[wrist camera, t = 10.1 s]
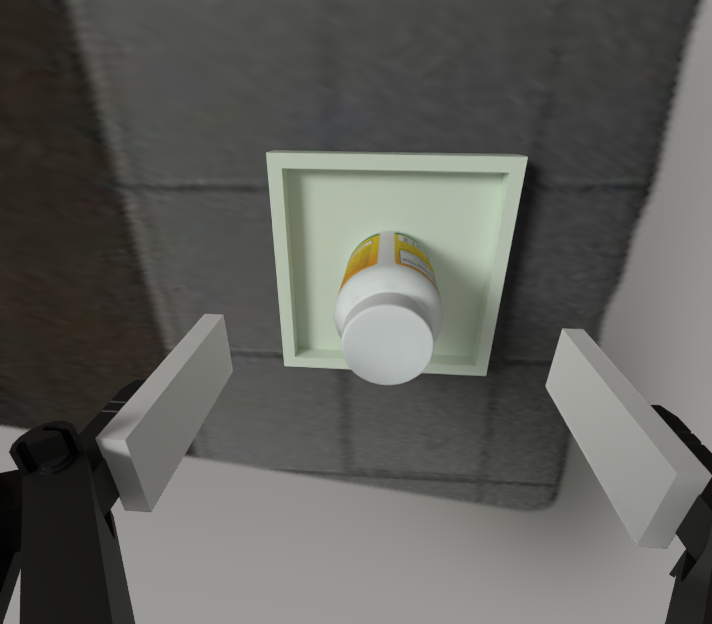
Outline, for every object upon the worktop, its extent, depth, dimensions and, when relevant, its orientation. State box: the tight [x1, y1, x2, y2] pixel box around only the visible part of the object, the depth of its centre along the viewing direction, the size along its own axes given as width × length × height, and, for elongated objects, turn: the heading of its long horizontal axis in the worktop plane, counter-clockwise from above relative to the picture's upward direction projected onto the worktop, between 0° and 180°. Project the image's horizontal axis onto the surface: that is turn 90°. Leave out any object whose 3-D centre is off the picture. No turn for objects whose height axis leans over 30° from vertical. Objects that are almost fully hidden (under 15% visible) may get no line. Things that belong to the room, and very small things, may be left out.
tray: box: [266, 150, 528, 376], centre depth 25 cm, size 14×14×2 cm
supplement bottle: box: [334, 231, 443, 385], centre depth 21 cm, size 5×5×10 cm
